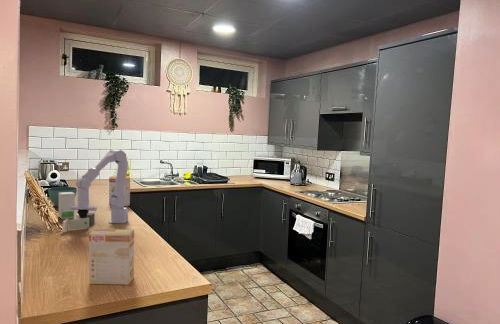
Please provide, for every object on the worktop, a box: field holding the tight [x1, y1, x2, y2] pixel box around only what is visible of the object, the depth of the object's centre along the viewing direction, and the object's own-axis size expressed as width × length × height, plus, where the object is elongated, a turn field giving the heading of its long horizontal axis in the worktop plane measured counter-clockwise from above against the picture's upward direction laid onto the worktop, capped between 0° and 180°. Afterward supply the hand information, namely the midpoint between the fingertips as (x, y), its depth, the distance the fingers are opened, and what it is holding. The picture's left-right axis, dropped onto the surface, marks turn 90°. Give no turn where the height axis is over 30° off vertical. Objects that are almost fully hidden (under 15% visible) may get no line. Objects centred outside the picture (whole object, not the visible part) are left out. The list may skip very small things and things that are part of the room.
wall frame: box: [62, 213, 81, 233], centre depth 209 cm, size 2×18×6 cm, turn 0°
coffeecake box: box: [88, 228, 135, 286], centre depth 141 cm, size 15×7×20 cm, turn 92°
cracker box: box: [108, 175, 131, 207], centre depth 269 cm, size 14×6×21 cm, turn 73°
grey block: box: [86, 212, 96, 226], centre depth 218 cm, size 4×5×6 cm
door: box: [68, 218, 90, 231], centre depth 206 cm, size 2×10×6 cm, turn 123°
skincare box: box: [57, 192, 76, 220], centre depth 230 cm, size 8×7×16 cm
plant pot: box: [47, 186, 78, 208], centre depth 261 cm, size 18×18×12 cm
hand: (83, 222), depth 210 cm, fingers closed
